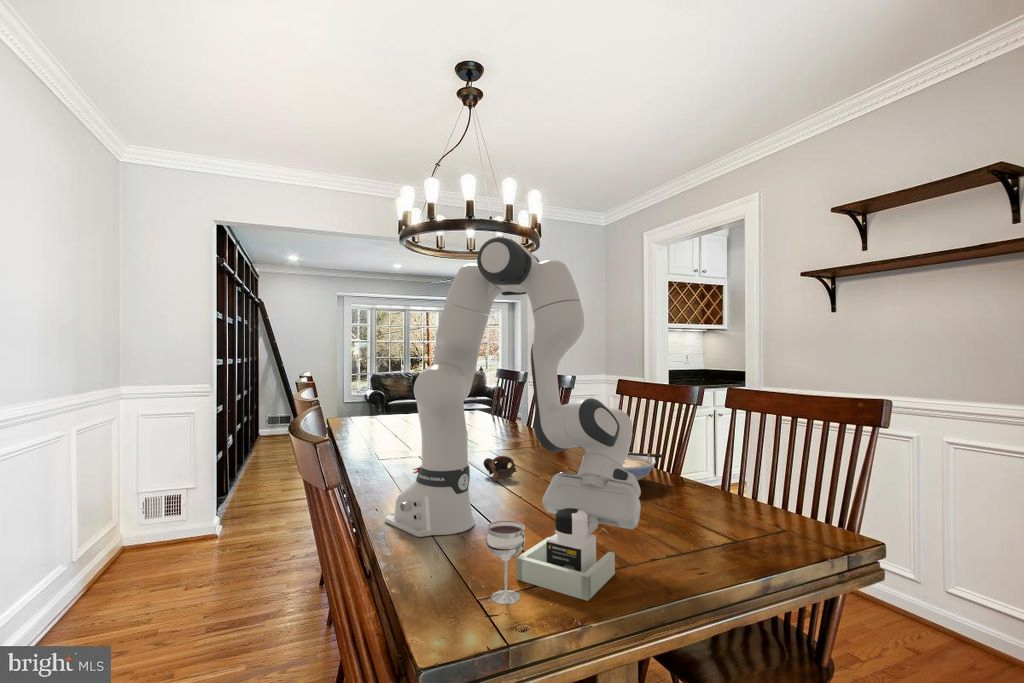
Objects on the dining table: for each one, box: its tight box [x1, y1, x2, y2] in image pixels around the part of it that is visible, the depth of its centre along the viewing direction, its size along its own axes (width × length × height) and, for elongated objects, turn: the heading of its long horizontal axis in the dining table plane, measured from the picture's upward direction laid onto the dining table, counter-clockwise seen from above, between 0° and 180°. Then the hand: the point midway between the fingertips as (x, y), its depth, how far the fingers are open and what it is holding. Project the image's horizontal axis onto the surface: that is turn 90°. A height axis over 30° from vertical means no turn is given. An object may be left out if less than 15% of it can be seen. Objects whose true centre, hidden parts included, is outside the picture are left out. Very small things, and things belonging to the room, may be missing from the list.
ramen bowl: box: [582, 451, 663, 482], centre depth 158 cm, size 25×23×8 cm
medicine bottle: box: [547, 508, 597, 573], centre depth 94 cm, size 7×7×12 cm
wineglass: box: [485, 519, 526, 605], centre depth 86 cm, size 7×7×12 cm
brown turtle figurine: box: [483, 455, 517, 482], centre depth 163 cm, size 12×10×8 cm
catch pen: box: [515, 536, 616, 602], centre depth 94 cm, size 14×12×4 cm
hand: (579, 538), depth 98 cm, fingers closed, pressing on medicine bottle
